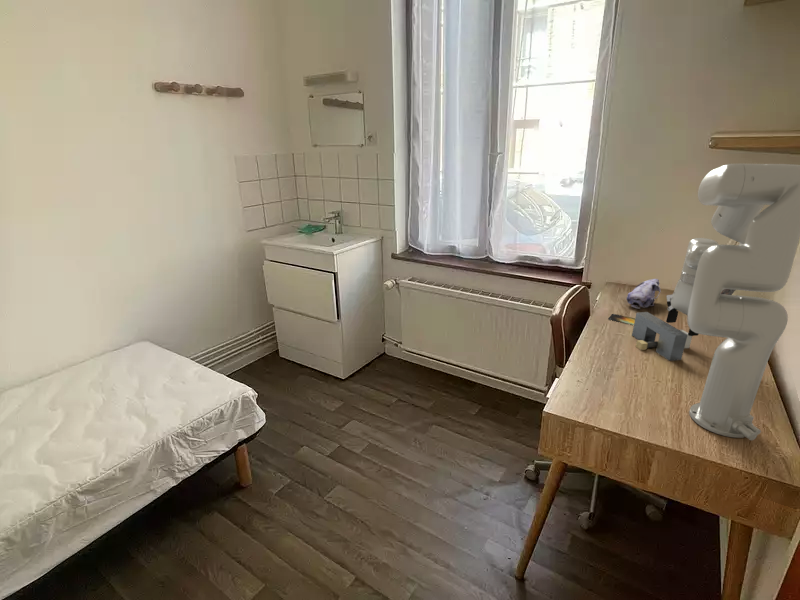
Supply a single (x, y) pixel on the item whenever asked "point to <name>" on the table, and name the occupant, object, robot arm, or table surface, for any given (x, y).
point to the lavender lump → (644, 294)
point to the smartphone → (622, 319)
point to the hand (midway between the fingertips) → (681, 328)
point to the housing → (669, 338)
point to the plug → (644, 345)
